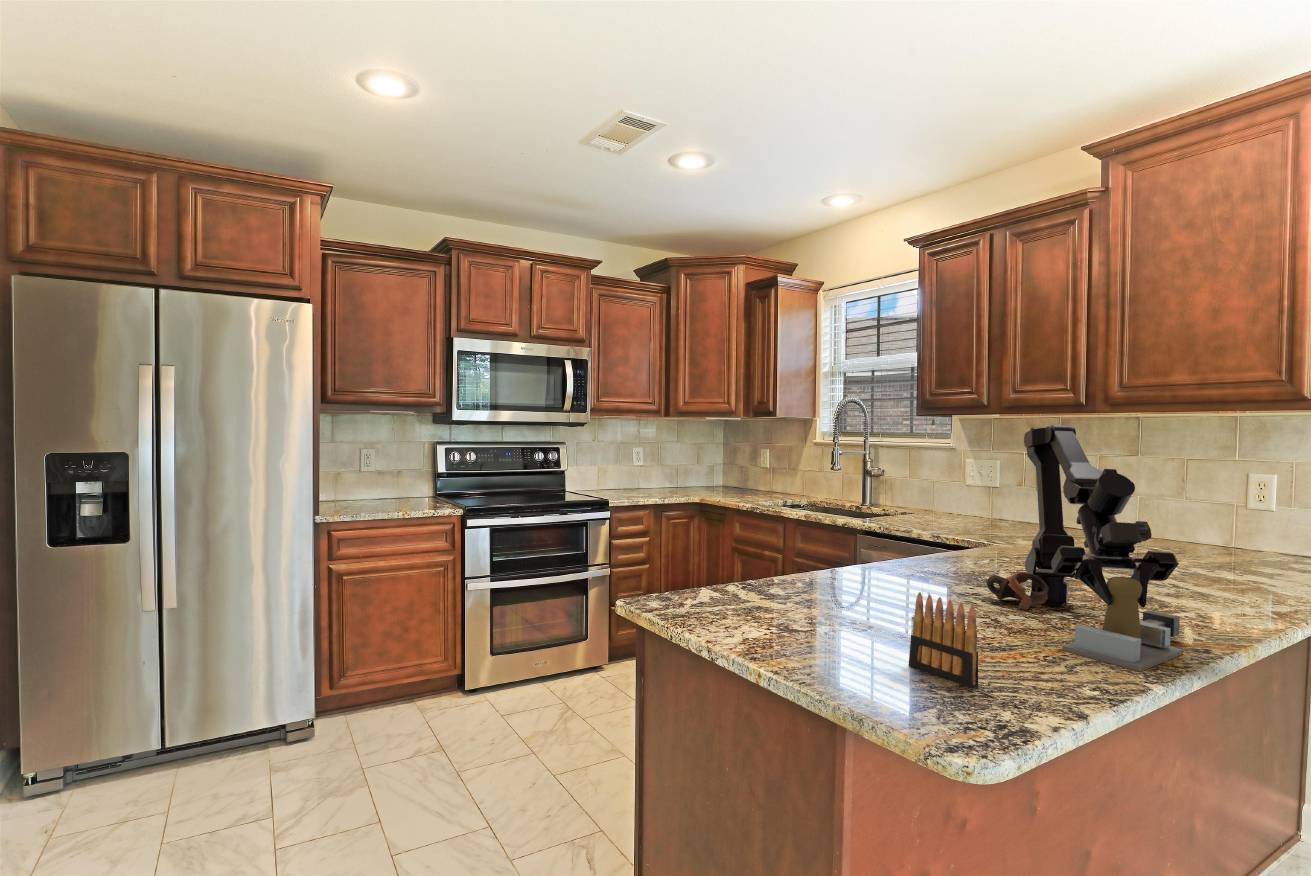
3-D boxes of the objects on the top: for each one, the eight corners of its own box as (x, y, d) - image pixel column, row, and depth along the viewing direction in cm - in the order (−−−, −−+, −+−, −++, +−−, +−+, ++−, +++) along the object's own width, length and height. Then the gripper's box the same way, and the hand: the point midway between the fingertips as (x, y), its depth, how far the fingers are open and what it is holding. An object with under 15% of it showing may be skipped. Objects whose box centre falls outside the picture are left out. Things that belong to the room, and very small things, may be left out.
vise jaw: (1163, 648, 120) (1164, 629, 120) (1106, 634, 128) (1107, 616, 128) (1191, 637, 127) (1192, 619, 127) (1135, 625, 135) (1136, 607, 135)
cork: (1151, 646, 119) (1154, 582, 118) (1119, 646, 118) (1123, 582, 118) (1122, 634, 125) (1125, 573, 124) (1092, 635, 124) (1095, 573, 124)
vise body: (1140, 671, 112) (1141, 645, 112) (1062, 650, 122) (1063, 625, 122) (1200, 646, 126) (1201, 622, 126) (1125, 629, 136) (1126, 607, 136)
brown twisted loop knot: (1035, 602, 157) (1050, 575, 152) (1038, 631, 149) (1055, 603, 145) (979, 584, 160) (993, 557, 155) (980, 611, 152) (994, 583, 148)
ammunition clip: (908, 666, 111) (911, 591, 111) (915, 664, 113) (918, 590, 112) (971, 688, 103) (975, 607, 102) (978, 685, 104) (981, 605, 103)
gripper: (1060, 501, 126) (1082, 575, 116) (1175, 506, 123) (1209, 584, 112) (1042, 537, 134) (1061, 609, 124) (1150, 543, 131) (1179, 618, 120)
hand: (1126, 605), depth 120 cm, fingers closed on cork, 5 cm apart
